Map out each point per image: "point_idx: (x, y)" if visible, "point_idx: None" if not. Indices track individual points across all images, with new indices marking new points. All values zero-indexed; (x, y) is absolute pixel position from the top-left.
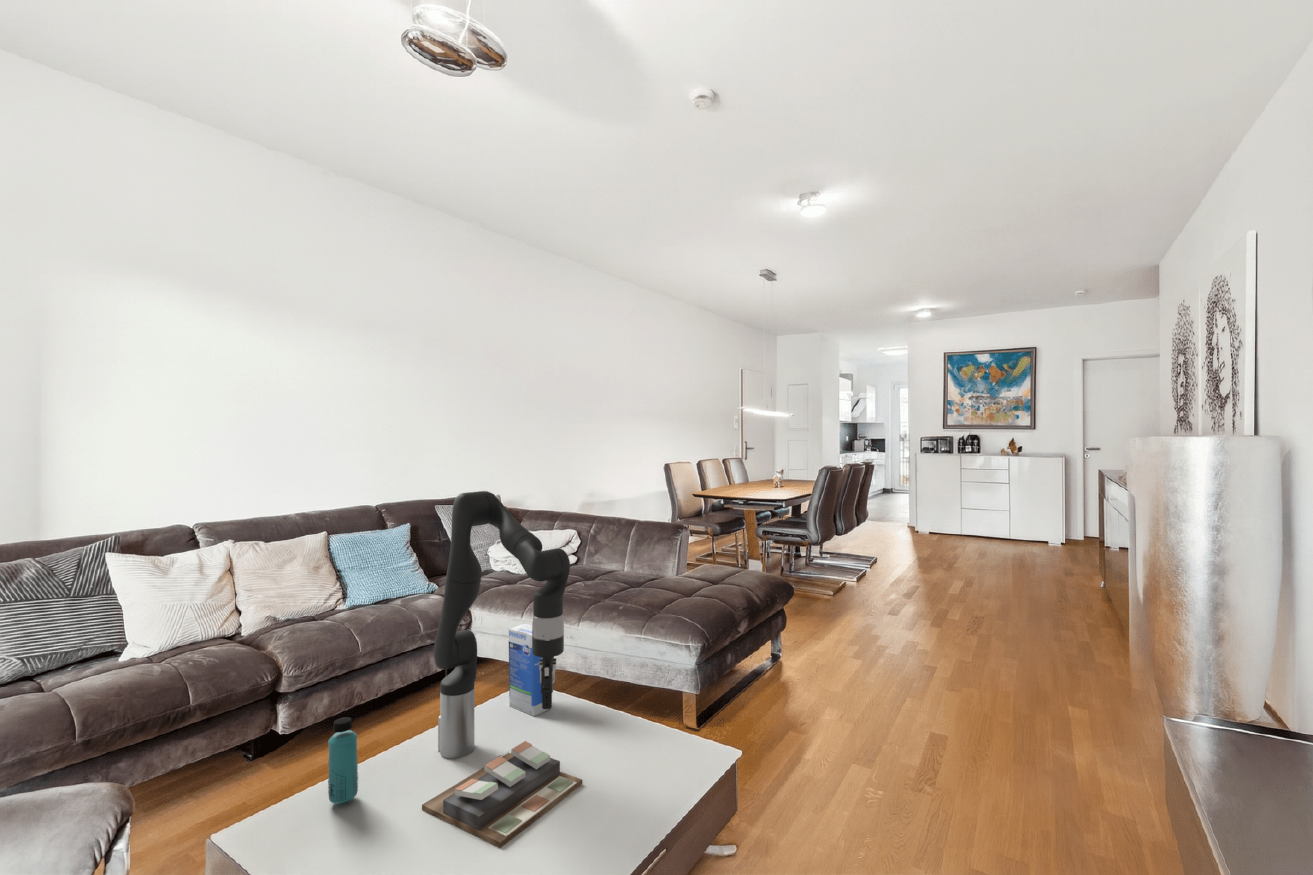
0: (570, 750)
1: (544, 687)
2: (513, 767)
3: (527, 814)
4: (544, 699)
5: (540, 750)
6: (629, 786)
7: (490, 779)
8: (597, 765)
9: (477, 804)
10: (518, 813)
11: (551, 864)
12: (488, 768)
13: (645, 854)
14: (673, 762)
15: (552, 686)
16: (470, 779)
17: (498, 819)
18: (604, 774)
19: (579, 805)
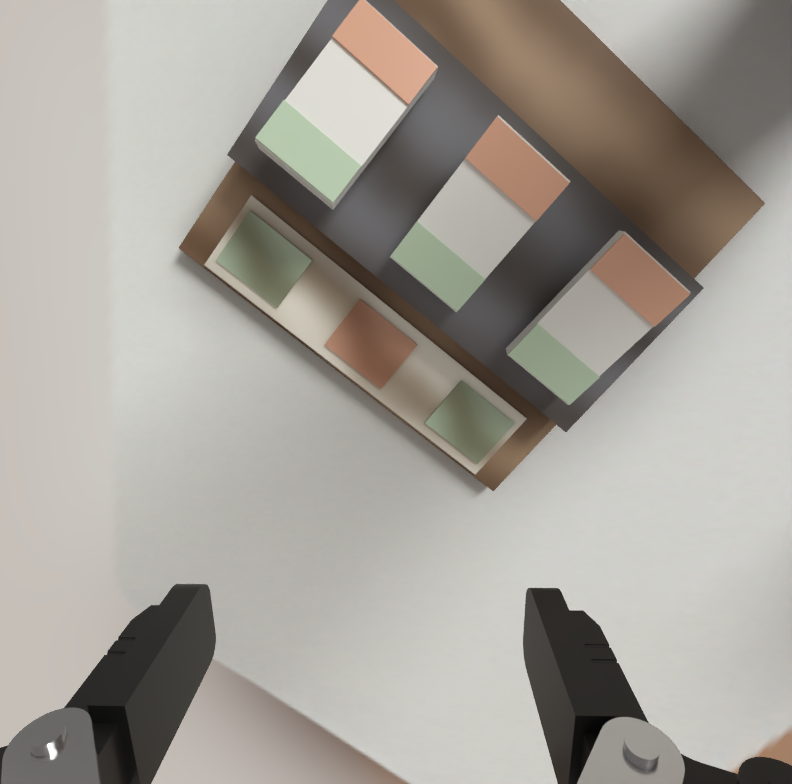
0: (726, 445)
1: (542, 628)
2: (486, 257)
3: (312, 323)
4: (93, 677)
5: (609, 364)
6: (453, 613)
7: None
8: (595, 531)
9: None
10: (320, 292)
11: (116, 402)
12: (480, 139)
13: None
14: None
15: (539, 706)
16: (432, 62)
17: (297, 225)
18: (534, 550)
19: (376, 474)
